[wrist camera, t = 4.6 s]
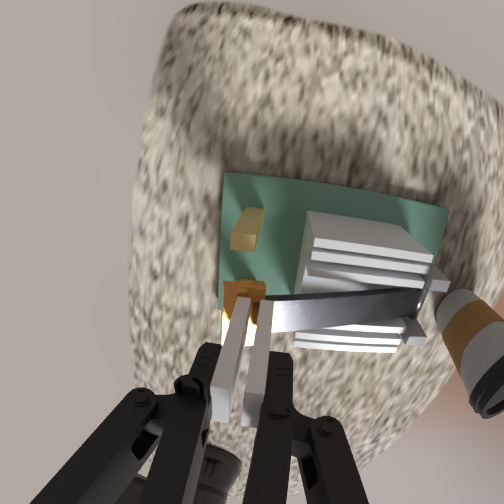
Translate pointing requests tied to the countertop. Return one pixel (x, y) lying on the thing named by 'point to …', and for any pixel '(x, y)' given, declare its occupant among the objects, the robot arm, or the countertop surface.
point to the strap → (320, 307)
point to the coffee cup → (475, 348)
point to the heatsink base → (330, 249)
